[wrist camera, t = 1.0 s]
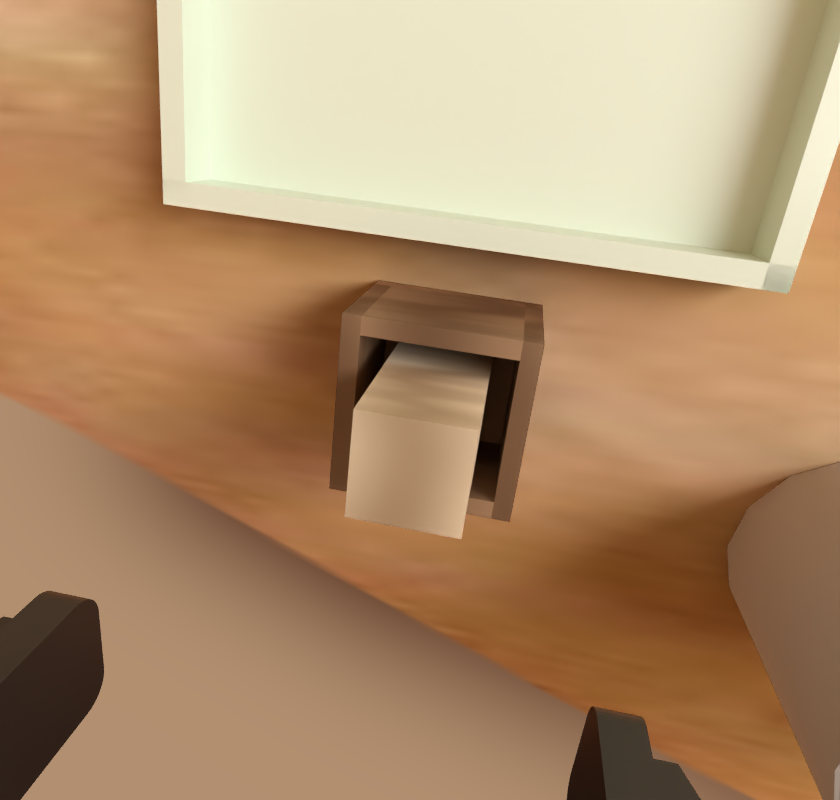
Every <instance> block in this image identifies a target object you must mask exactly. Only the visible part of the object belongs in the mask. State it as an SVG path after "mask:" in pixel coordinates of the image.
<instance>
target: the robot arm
mask: <svg viewBox="0 0 840 800" xmlns="http://www.w3.org/2000/svg"><path fill="white" fill-rule="evenodd" d="M103 677H104V664H103V653H102V642H101V632H100V621H99V611H98V606H97V604H96V602H95V601H93V600H91V599H86V598H82V597H77V596H72V595H67V594H62V593H57V592H53V591H46V592H43V593H41V594H39V595H38V596H37V597H36V598H34V599H33V600H32V601H31V602H30V603H29V604H28V605H27V606H26V607H25V608H24V609H22V611H20V612H19V613H18V614H17V615H16V616H15V617H14V618H8V617H2V618H0V800H21V798H22V797H23V796H24V794H25V793H26V792H27V791H28V789H29V788H30V787H31V786H32V784H33V783H34V782H35V780H36V779H37V778H38V777H39V775H40V774H41V773H42V771H43V770H44V769H45V767H46V766H47V765H48V764H49V762H50V761H51V760H52V758H53V757H54V756H55V755H56V753H57V752H58V751H59V749H60V748H61V747H62V746H63V744H64V743H65V742H66V741H67V739H68V738H69V737H70V735H71V734H72V733H73V731H74V730H75V729H76V728H77V726H78V725H79V724H80V723H81V721H82V720H83V719H84V717H85V716H86V715H87V714H88V712H89V711H90V709H91V708H92V706H93V705H94V703H95V701H96V699H97V697H98V694H99V692H100V689H101V686H102V682H103ZM567 800H701V799H700V798H699V796H698V794H697V793H696V791H695V790H694V788H693V787H692V785H691V784H690V782H689V780H688V779H687V778H686V776H685V774H684V773H683V771H682V769H681V768H680V766H679V765H678V764H675V763H671V762H666V761H662V760H656V759H653V757H652V752H651V747H650V741H649V736H648V731H647V727H646V723H645V721H644V719H643V718H642V717H640V716H636V715H631V714H626V713H621V712H617V711H612V710H607V709H602V708H597V707H591V708H590V710H589V712H588V715H587V719H586V722H585V726H584V729H583V733H582V736H581V740H580V743H579V747H578V750H577V754H576V757H575V761H574V764H573V768H572V772H571V775H570V781H569V786H568V793H567Z"/></svg>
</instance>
